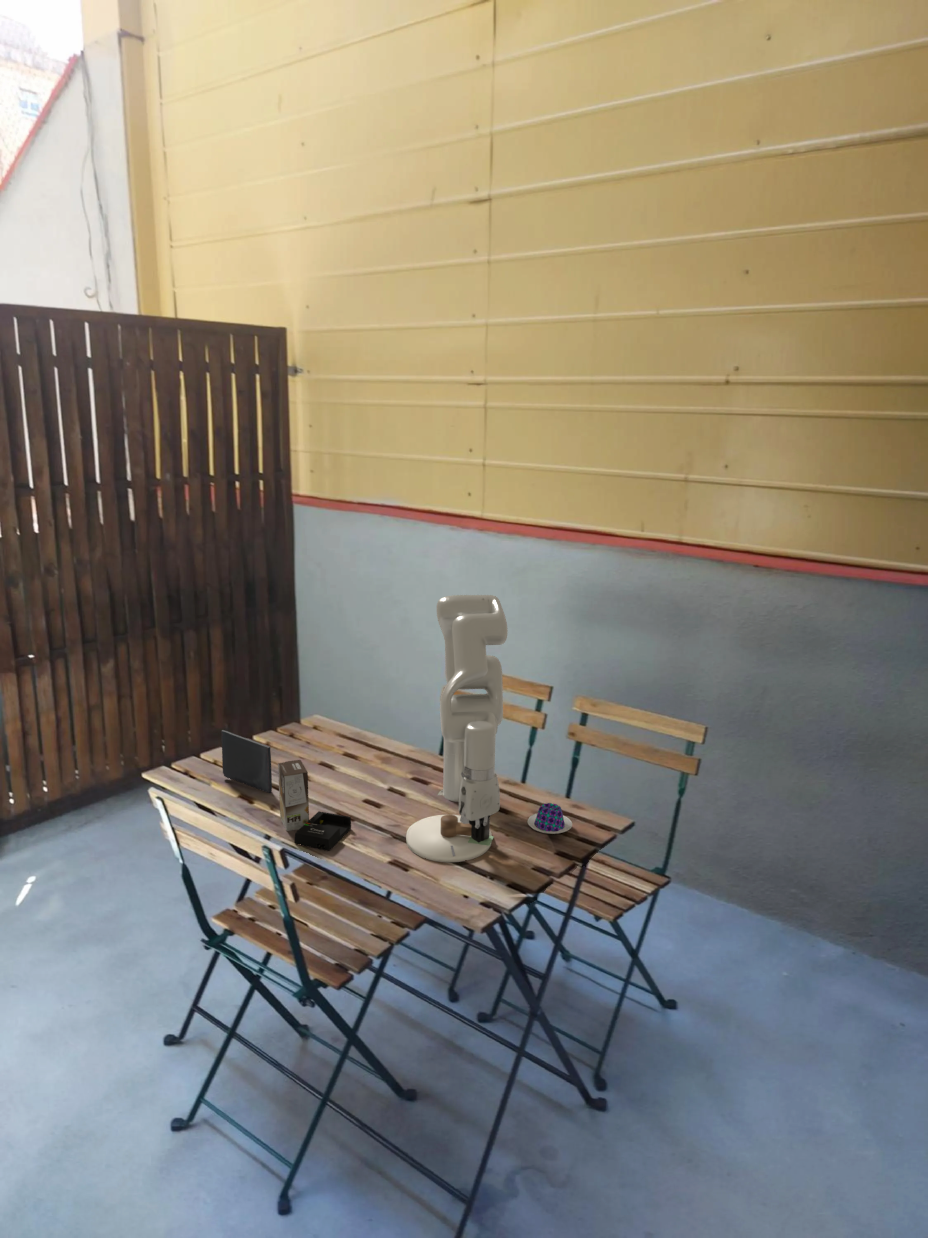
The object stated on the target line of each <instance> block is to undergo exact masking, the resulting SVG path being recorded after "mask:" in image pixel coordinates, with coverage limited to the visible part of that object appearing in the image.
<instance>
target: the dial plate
mask: <svg viewBox="0 0 928 1238" xmlns="http://www.w3.org/2000/svg"><path fill="white" fill-rule="evenodd" d="M444 815H445V814H438V815H431V816H428V817H424V818H421V819H419V820H417V821H416V822H414V823H412V824H411V825H410V826H409V827H408V829H407V831H406V833H405V834H406V838H405V839H406V840H405V841H406V842H405V843H406V845H407V847H408V849H409V850H410V851H411V852H412V853H413V854H415V855H417V856H419V858H420V857H421V858H423V859H425V858H426V859H425V860H428V861H432V862H437V863H438V862H440V863H459V862H460V863H461V862H466V861H465V860H467V861H470V860H473V859H476V858H478V857H481V856H482V855H484V854H485V853H487V852H488V851H489V849H490V848H491V846H492V843H493V839H494V838H495V836H493V835H492V831H491V830H490V832H489V838H488V839H486V840H484V841H481V842H477V841H475V840H474V839H472V837H471V836H466V835H458V834H457V835H456V836H454V837H445V836H442V835H441V817H442V816H444ZM453 815H454V816H456V817H457V818H458V822H460V818H461V815H460V814H459V815H458V814H453Z"/></svg>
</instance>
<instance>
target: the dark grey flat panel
mask: <svg viewBox="0 0 928 1238" xmlns="http://www.w3.org/2000/svg"><path fill="white" fill-rule="evenodd" d="M220 734H221V755H222V756H221V757H222V760H221V761H222V774H223V777H225V778H227V779H229V778H230V779H229V780H232V779H233V781H235V780H236V781H235V782H239V783H241V784H243V783H244V784H243V785H246V786H249V787H252V788H254V789H257V790H259V791H263V792H265V793H266V794H267V793H268V794H272V792H273V781H272V780H273V779H272V778H273V776H272V754H271V752H272V751H271V746H269V745H266V744H263V743H261V742H258V741H255V740H253V739H250V738H248V737H247V738H246V737H243V736H241V735H239V734H235V733H233V732H230V731H228V730H226V729H225V730H224V729H222V730H221V732H220Z"/></svg>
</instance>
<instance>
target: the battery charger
mask: <svg viewBox="0 0 928 1238" xmlns="http://www.w3.org/2000/svg"><path fill="white" fill-rule="evenodd" d="M351 829H352V818H351V816H348V815H344V814H343V815H342V814H336V813H331V812H325V811H317V812H316V813H315V814H314V815H313V816H312V817H310V818H309V821H308V822H307V823H305V824H304V825H303V826H302V827H301V828H300V829H298V830H296V832H294V844H295V843H297V844H301V845H300V846H302V845H304V846H303V847H307V848H311V849H318V850H321V851H322V850H323V851H327V852H330V851H331V849H333V848H334V847H335V846H336V845H337V844H338V843H339V842H340V841H341V840H342V839H343V838H344V837H345V836H346V835H347V834H348V833H349V832H350V831H351ZM297 844H296V845H297Z"/></svg>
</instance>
